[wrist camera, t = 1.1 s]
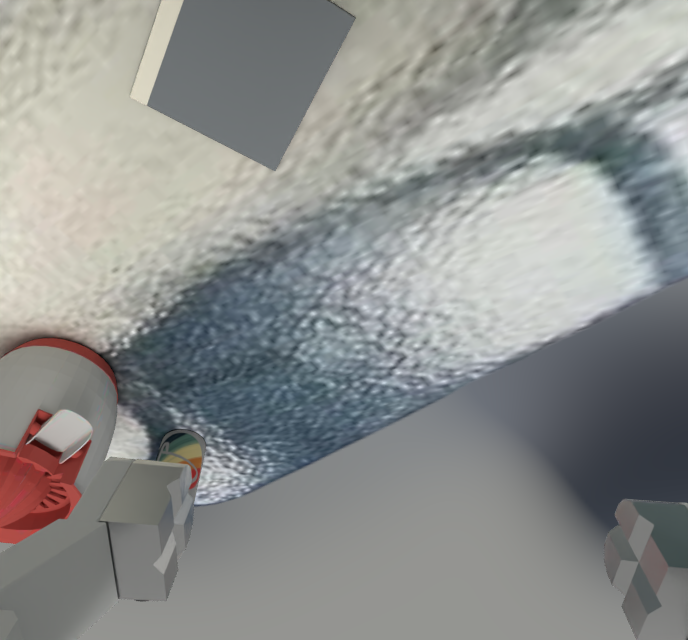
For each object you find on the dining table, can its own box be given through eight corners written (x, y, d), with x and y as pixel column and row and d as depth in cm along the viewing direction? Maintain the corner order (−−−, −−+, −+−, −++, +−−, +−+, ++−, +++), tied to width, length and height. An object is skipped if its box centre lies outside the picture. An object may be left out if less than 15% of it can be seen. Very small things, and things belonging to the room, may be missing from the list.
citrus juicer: (172, 374, 67) (122, 531, 51) (81, 434, 73) (12, 590, 58) (56, 289, 59) (-45, 443, 43) (-34, 365, 66) (-150, 523, 50)
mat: (191, -88, 39) (190, -87, 39) (355, 17, 43) (355, 18, 43) (131, 95, 47) (129, 97, 46) (275, 169, 51) (274, 171, 50)
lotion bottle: (181, 422, 72) (137, 577, 56) (215, 443, 75) (183, 598, 59) (153, 441, 74) (104, 596, 59) (187, 461, 77) (149, 614, 61)
